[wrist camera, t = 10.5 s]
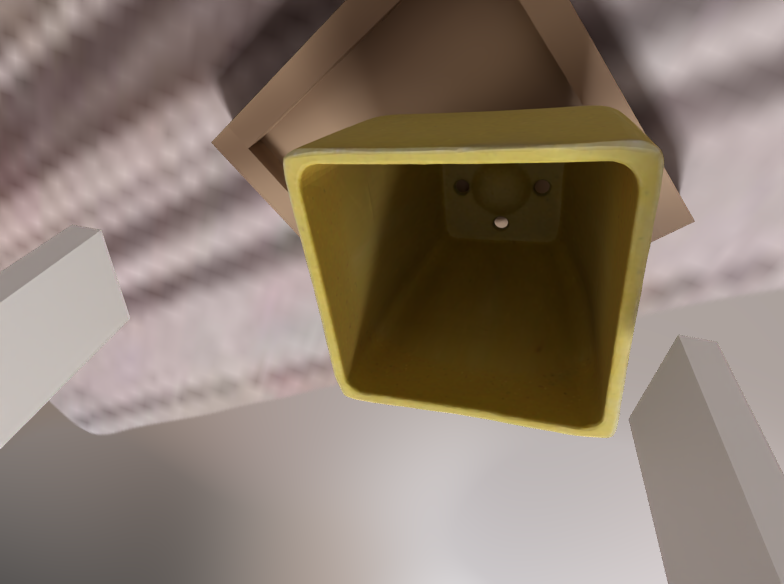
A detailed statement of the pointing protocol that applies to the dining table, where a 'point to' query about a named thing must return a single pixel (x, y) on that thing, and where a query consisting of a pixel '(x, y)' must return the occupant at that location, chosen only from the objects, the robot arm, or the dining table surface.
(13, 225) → the dining table surface
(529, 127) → the flower pot
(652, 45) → the dining table surface
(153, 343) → the dining table surface
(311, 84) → the walnut tray
